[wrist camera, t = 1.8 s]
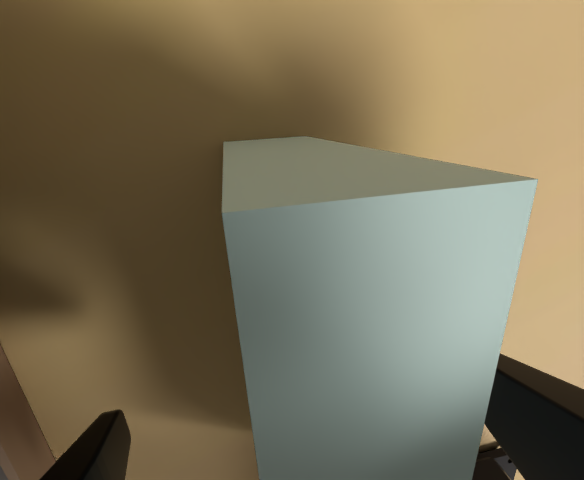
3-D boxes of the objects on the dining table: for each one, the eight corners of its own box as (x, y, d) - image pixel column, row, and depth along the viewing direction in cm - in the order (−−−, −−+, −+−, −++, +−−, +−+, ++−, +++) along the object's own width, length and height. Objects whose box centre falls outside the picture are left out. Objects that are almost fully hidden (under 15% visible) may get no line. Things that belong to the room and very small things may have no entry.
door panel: (316, 418, 14) (415, 737, 7) (260, 430, 14) (302, 782, 6) (305, 135, 10) (539, 178, 3) (223, 141, 10) (222, 213, 2)
